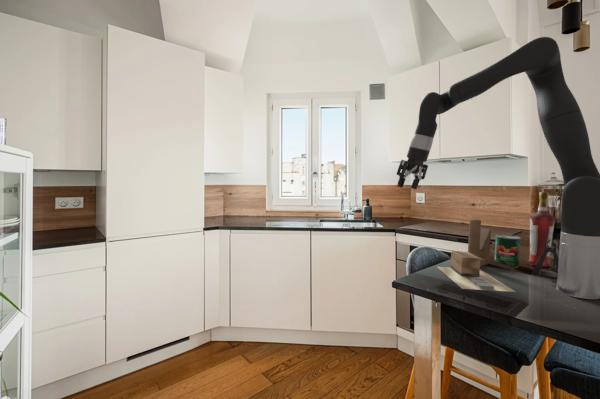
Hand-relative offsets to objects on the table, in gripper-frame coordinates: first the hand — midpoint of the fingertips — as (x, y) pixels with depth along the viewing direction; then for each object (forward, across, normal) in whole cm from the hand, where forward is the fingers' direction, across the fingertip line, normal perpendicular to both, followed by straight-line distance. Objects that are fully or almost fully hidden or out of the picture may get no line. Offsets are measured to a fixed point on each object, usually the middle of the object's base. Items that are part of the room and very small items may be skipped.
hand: (406, 187), depth 121 cm
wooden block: (+21, +15, -29) cm, 38 cm away
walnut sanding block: (+19, +1, -31) cm, 37 cm away
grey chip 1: (+18, -6, -39) cm, 44 cm away
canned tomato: (+19, +29, -32) cm, 47 cm away
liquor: (+16, +39, -39) cm, 57 cm away
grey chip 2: (+17, -8, -42) cm, 46 cm away
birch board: (+20, -3, -36) cm, 41 cm away
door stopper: (+15, +28, -45) cm, 55 cm away
